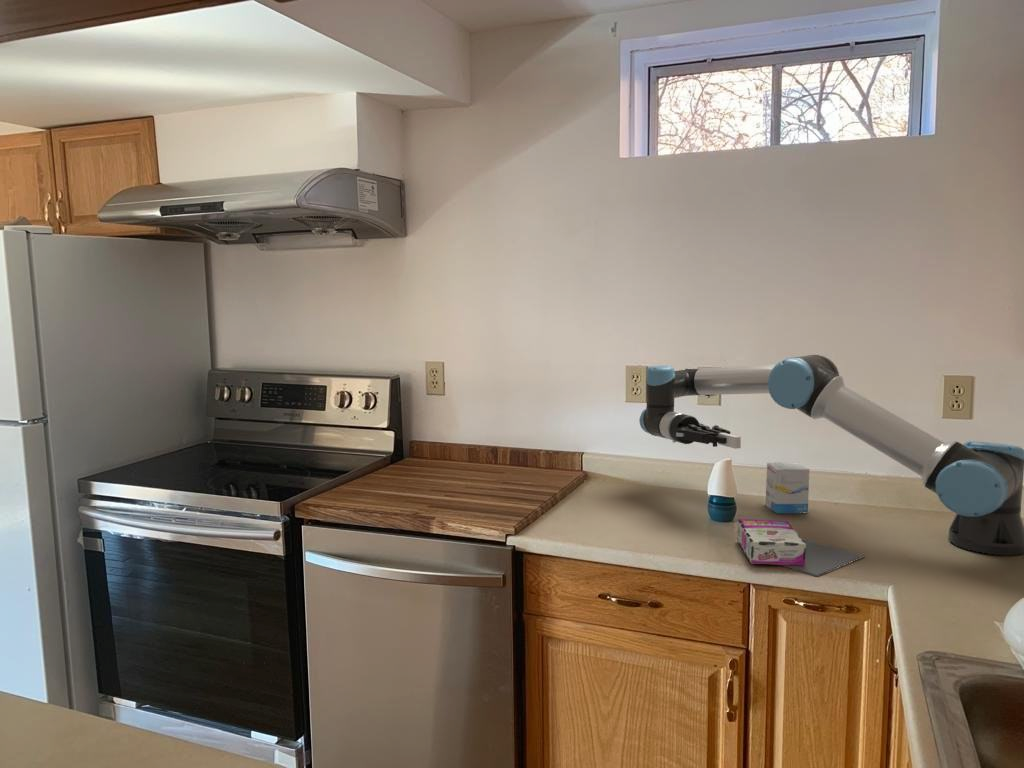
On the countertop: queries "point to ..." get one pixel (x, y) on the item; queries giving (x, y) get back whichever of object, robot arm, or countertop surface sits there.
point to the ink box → (787, 487)
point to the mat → (822, 558)
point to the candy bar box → (771, 542)
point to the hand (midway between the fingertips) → (738, 442)
